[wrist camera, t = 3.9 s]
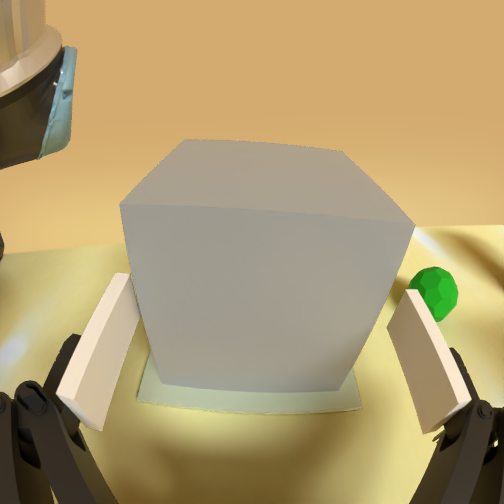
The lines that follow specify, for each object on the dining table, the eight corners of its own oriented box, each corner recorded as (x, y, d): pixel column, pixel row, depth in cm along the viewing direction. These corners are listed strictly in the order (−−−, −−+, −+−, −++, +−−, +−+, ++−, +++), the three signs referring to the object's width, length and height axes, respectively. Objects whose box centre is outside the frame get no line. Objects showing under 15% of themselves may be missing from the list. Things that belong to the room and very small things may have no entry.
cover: (162, 383, 16) (119, 203, 10) (189, 275, 26) (184, 139, 19) (338, 390, 17) (415, 224, 10) (314, 282, 26) (341, 151, 19)
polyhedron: (451, 326, 22) (475, 288, 19) (417, 338, 21) (442, 296, 18) (425, 293, 26) (443, 255, 23) (391, 300, 25) (408, 258, 22)
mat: (138, 401, 15) (136, 398, 15) (178, 268, 27) (177, 265, 27) (359, 409, 16) (362, 406, 16) (325, 277, 27) (326, 273, 27)
